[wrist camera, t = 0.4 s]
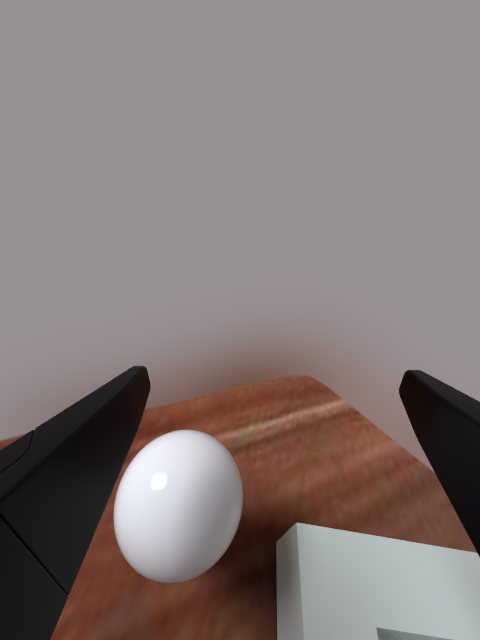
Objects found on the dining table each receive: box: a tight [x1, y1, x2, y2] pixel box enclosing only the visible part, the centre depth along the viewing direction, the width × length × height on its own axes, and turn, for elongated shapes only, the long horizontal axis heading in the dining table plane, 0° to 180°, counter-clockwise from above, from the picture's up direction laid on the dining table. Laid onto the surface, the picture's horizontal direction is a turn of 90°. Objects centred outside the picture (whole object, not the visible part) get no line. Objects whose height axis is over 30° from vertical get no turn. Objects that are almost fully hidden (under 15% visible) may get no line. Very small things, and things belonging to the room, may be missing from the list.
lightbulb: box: [114, 430, 243, 584], centre depth 15 cm, size 6×6×11 cm
